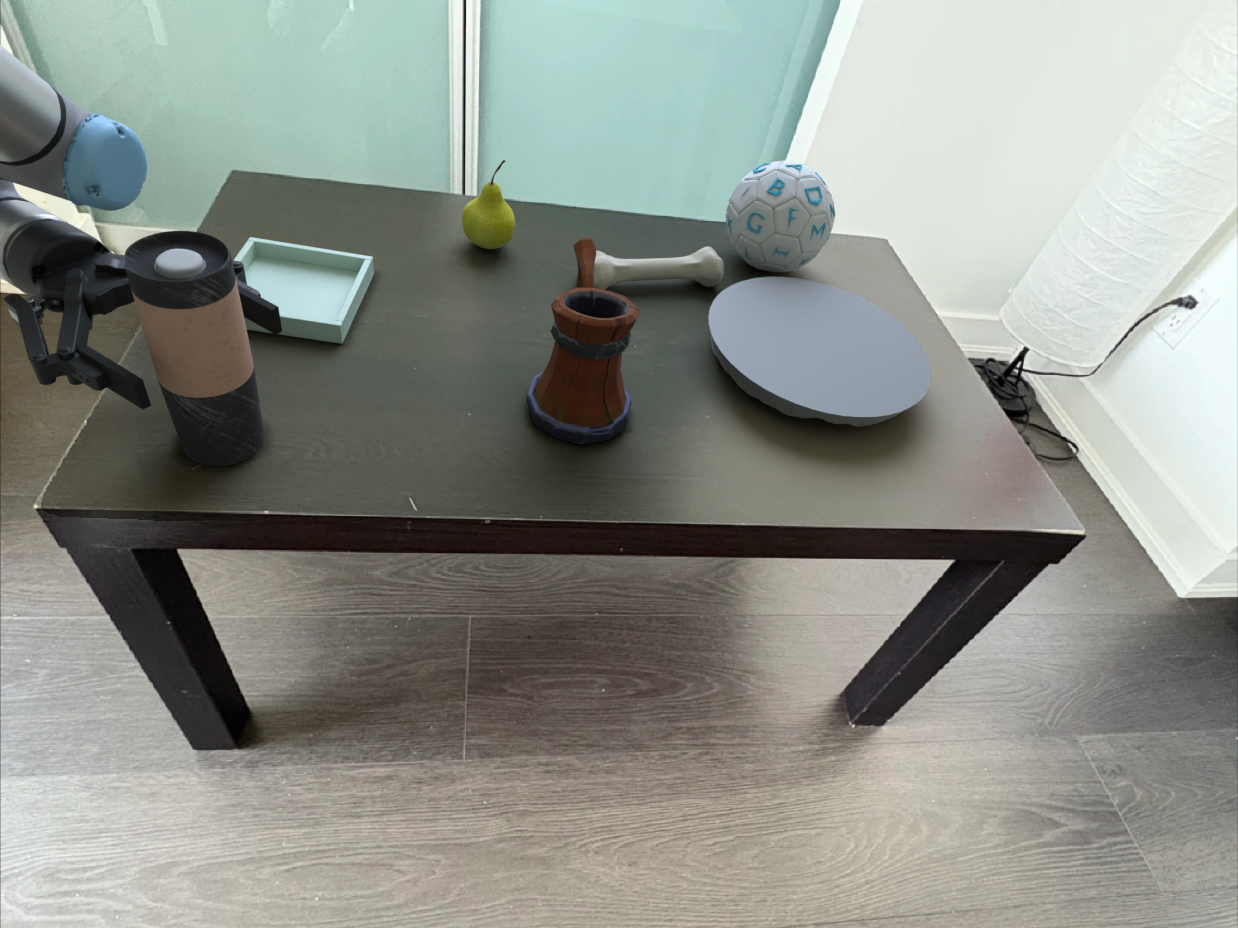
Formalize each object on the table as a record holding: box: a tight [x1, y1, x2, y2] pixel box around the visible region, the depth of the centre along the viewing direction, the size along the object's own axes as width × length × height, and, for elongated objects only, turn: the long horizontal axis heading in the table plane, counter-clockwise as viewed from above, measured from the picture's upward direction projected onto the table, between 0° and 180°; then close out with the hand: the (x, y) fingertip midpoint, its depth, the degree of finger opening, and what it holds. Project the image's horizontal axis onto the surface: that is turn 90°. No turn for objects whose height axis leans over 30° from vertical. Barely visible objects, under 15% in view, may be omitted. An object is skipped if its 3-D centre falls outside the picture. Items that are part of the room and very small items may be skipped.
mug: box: [526, 237, 641, 445], centre depth 84 cm, size 18×12×15 cm, turn 6°
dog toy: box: [594, 245, 725, 290], centre depth 106 cm, size 20×6×5 cm, turn 108°
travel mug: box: [124, 230, 265, 467], centre depth 68 cm, size 8×8×20 cm
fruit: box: [461, 159, 516, 250], centre depth 103 cm, size 7×7×12 cm
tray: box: [233, 236, 375, 345], centre depth 91 cm, size 15×15×2 cm
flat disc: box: [708, 276, 932, 428], centre depth 98 cm, size 28×28×4 cm
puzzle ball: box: [725, 160, 836, 273], centre depth 112 cm, size 15×15×15 cm
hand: (215, 355), depth 67 cm, fingers open, 13 cm apart
